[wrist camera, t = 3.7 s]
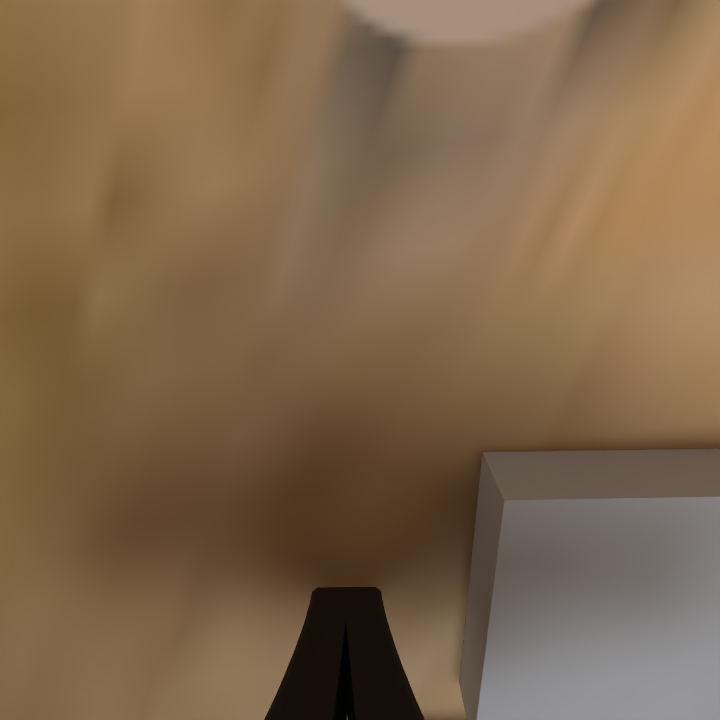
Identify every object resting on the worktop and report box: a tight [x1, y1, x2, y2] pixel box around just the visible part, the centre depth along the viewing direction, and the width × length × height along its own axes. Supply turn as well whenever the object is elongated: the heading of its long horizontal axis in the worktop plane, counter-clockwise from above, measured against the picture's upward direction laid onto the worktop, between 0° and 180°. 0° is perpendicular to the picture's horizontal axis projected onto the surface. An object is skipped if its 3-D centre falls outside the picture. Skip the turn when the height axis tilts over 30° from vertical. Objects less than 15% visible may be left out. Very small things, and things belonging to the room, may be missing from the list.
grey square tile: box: [459, 449, 720, 720], centre depth 11 cm, size 6×7×2 cm
